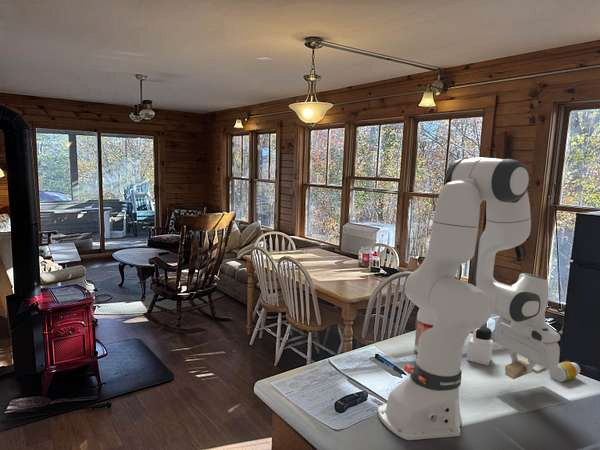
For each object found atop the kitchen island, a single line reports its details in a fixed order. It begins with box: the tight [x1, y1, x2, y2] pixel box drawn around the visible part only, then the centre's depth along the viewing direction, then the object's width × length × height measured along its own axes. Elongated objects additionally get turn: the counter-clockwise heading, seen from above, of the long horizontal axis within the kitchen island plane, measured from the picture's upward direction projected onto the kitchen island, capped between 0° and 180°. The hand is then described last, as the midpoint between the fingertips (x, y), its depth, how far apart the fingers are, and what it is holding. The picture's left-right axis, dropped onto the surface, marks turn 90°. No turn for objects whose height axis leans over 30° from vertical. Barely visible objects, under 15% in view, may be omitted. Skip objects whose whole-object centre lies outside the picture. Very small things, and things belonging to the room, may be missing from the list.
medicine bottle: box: [466, 325, 494, 366], centre depth 148 cm, size 7×7×12 cm
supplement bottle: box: [548, 361, 581, 383], centre depth 137 cm, size 5×5×10 cm
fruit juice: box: [414, 308, 435, 353], centre depth 152 cm, size 9×9×28 cm
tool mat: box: [495, 385, 572, 414], centre depth 123 cm, size 20×9×1 cm, turn 112°
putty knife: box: [504, 357, 549, 380], centre depth 129 cm, size 15×6×3 cm, turn 111°
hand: (521, 368), depth 128 cm, fingers closed on putty knife, 3 cm apart
